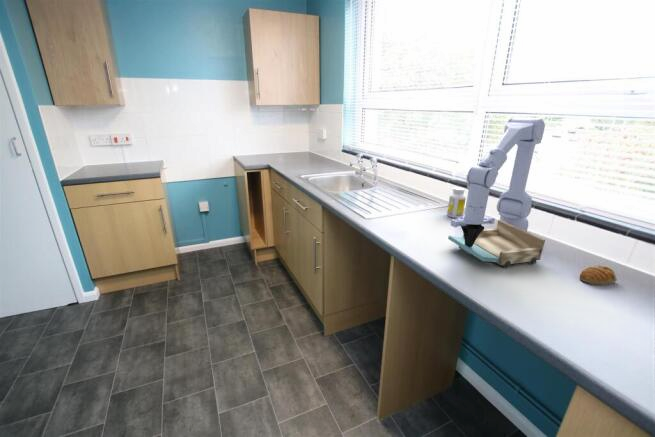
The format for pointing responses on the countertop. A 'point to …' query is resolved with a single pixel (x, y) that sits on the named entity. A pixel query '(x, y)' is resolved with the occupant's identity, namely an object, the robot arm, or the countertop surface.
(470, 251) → the panel
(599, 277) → the pastry
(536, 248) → the tray
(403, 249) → the countertop surface
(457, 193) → the supplement bottle
